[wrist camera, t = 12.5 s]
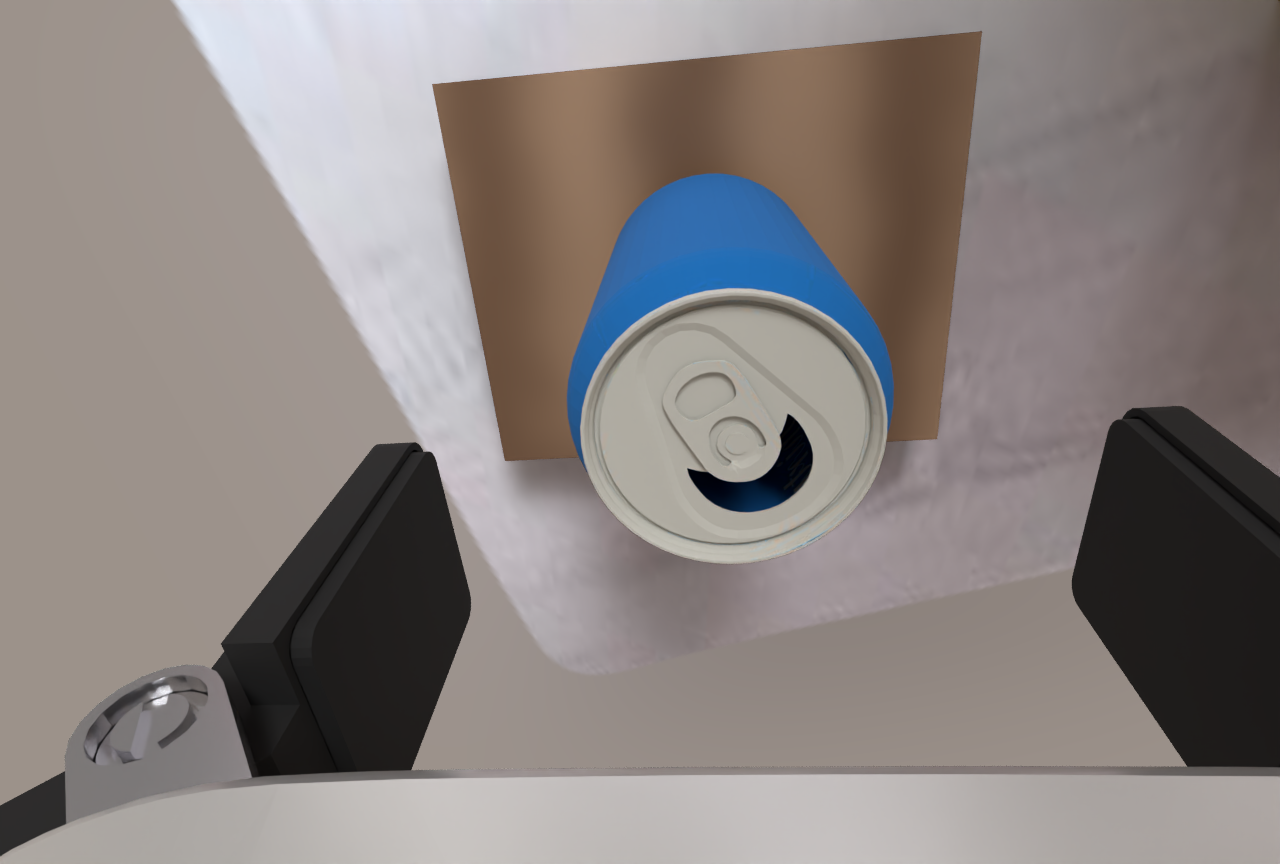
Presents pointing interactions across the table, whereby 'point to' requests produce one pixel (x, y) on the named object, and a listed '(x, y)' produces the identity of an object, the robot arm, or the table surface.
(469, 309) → the table surface
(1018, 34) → the table surface
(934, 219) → the walnut board
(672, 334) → the beverage can
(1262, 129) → the table surface
